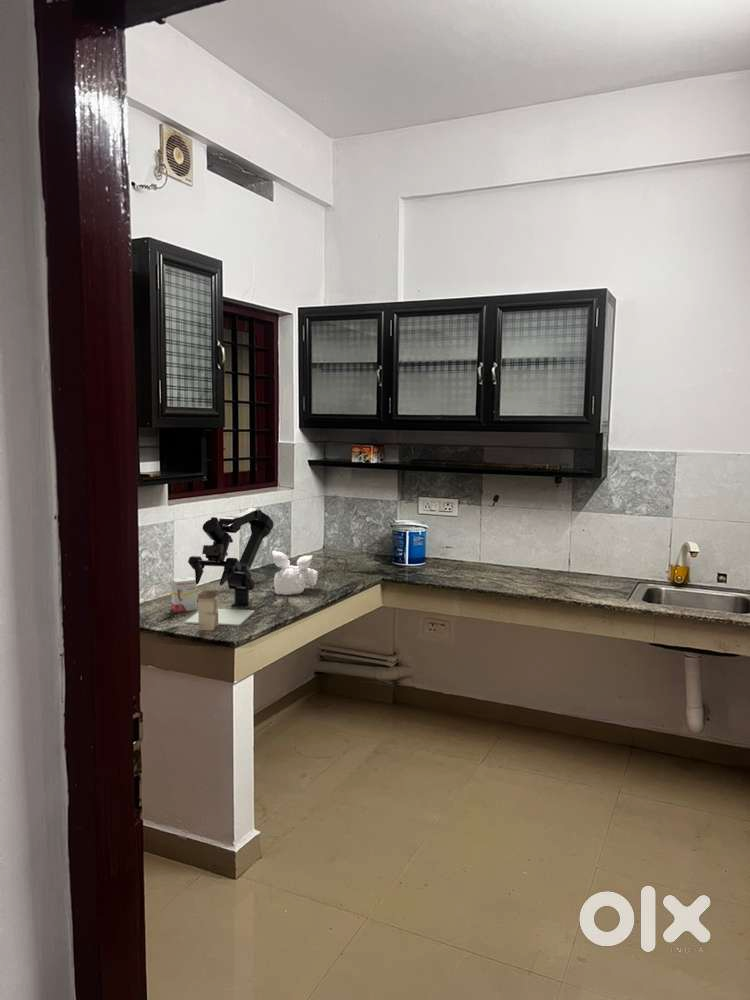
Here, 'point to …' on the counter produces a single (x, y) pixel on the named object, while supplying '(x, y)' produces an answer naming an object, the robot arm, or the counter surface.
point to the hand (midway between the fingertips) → (208, 584)
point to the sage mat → (226, 617)
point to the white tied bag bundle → (293, 574)
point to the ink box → (184, 594)
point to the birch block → (208, 610)
